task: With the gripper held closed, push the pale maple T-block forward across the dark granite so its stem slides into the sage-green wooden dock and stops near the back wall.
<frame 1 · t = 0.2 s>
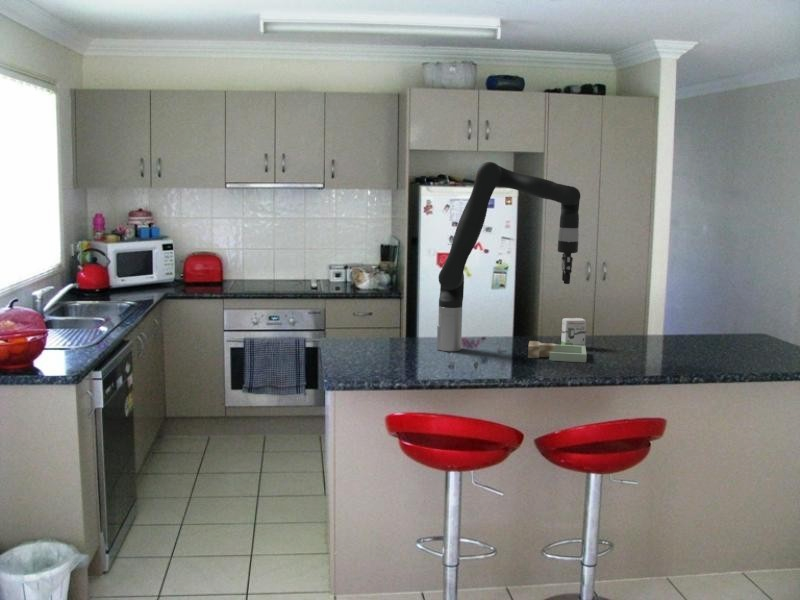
hand: (565, 282, 324), 28 cm above the counter, fingers open, 8 cm apart
ink box: (572, 348, 343), on the counter
dock: (568, 356, 326), on the counter
t block: (539, 355, 328), on the counter
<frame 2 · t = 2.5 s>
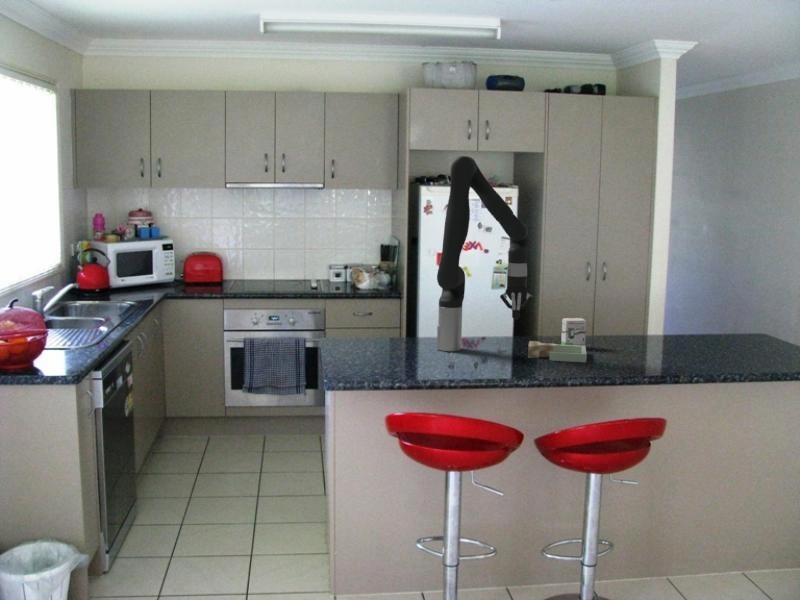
hand: (515, 319, 327), 14 cm above the counter, fingers closed
nothing on the counter moved.
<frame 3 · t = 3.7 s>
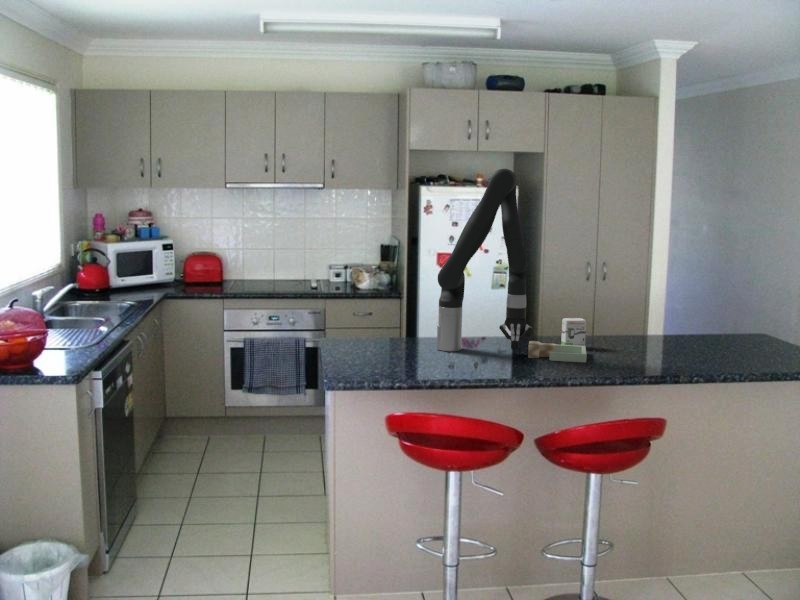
hand: (514, 350, 329), 2 cm above the counter, fingers closed
nothing on the counter moved.
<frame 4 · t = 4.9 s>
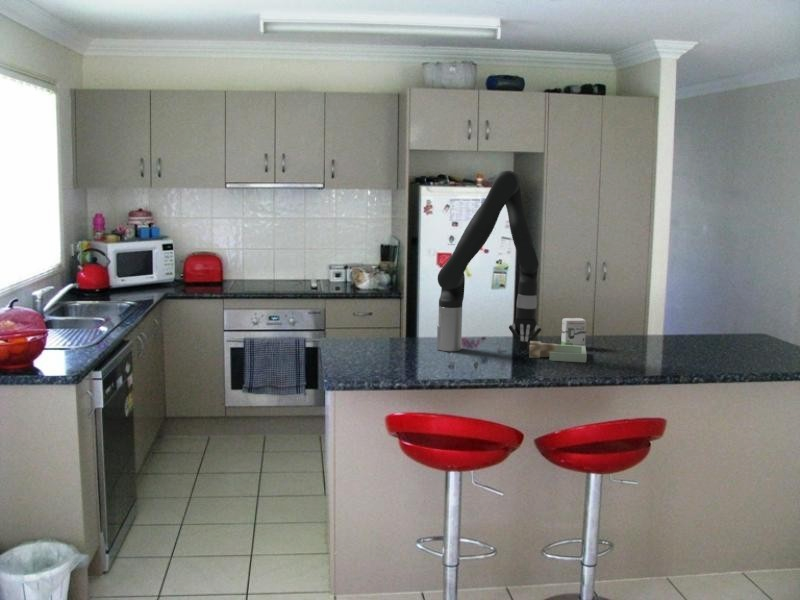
hand: (523, 350, 328), 2 cm above the counter, fingers closed
t block: (540, 355, 328), on the counter, touching gripper
everything else where it was.
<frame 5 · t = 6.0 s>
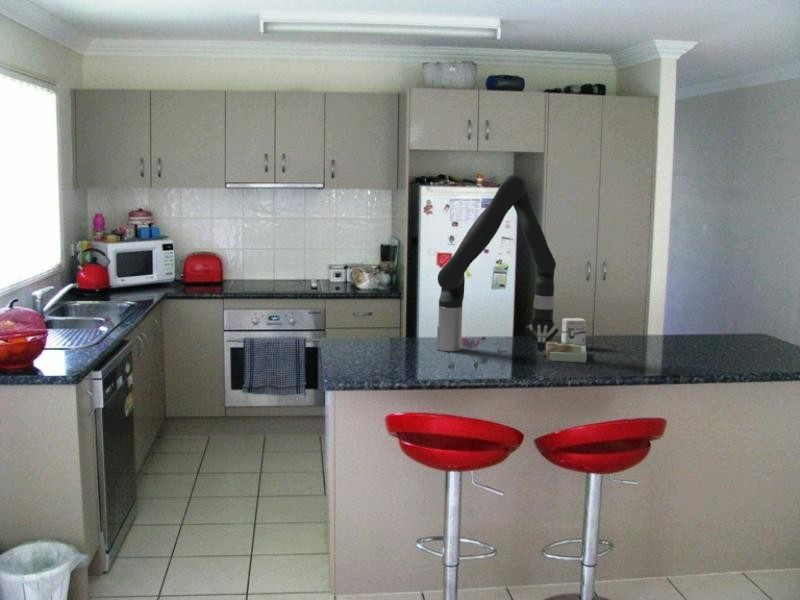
hand: (540, 351, 327), 2 cm above the counter, fingers closed
t block: (557, 356, 327), on the counter, touching gripper
everything else where it was.
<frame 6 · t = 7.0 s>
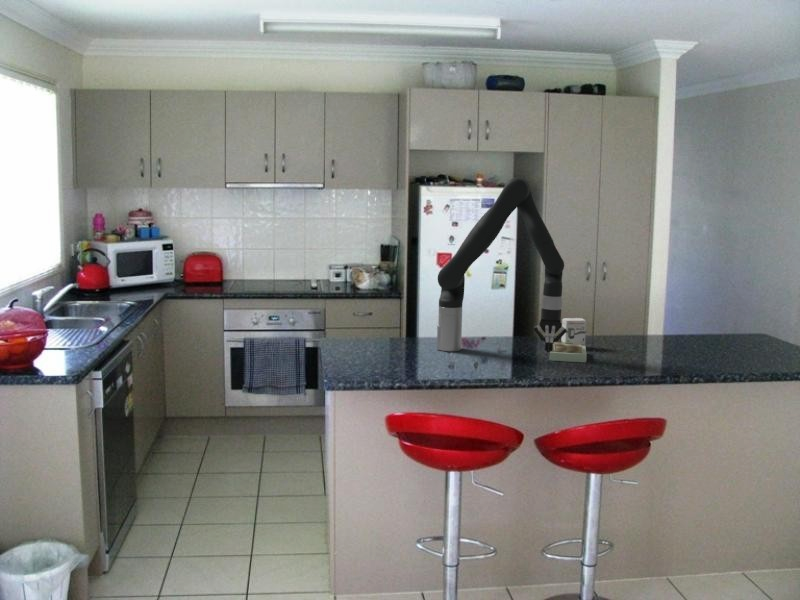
hand: (548, 351, 327), 2 cm above the counter, fingers closed
t block: (565, 356, 326), on the counter, touching dock, gripper
everything else where it was.
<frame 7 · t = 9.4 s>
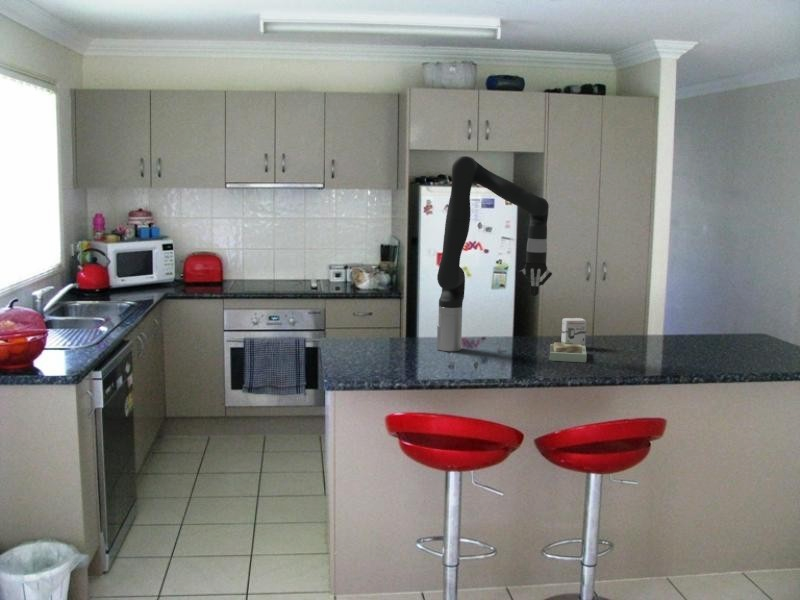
hand: (534, 295, 325), 23 cm above the counter, fingers closed
t block: (565, 356, 326), on the counter
everything else where it was.
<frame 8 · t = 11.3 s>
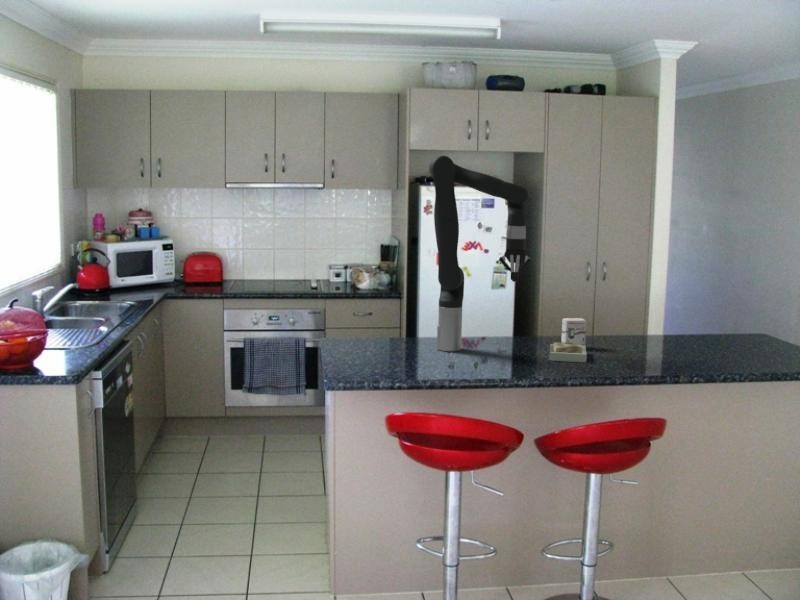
hand: (514, 281, 335), 27 cm above the counter, fingers closed
nothing on the counter moved.
at the end: t block 2.1 cm from the target spot on the dock, point 0.0 cm above the dock's base; t block tilted 1° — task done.
